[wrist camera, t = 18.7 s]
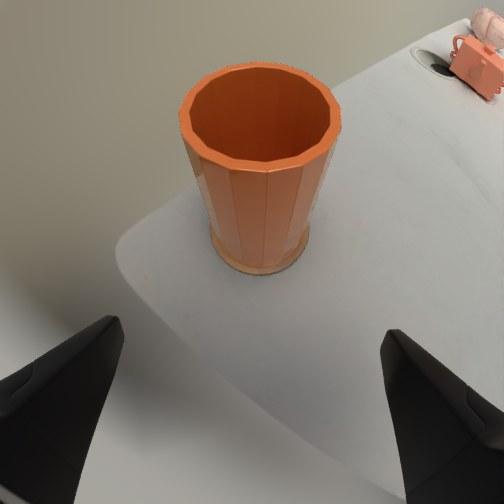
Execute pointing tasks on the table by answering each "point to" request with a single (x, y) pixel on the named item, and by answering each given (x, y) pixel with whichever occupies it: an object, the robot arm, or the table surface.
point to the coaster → (260, 270)
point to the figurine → (488, 28)
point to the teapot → (478, 65)
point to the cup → (260, 155)
